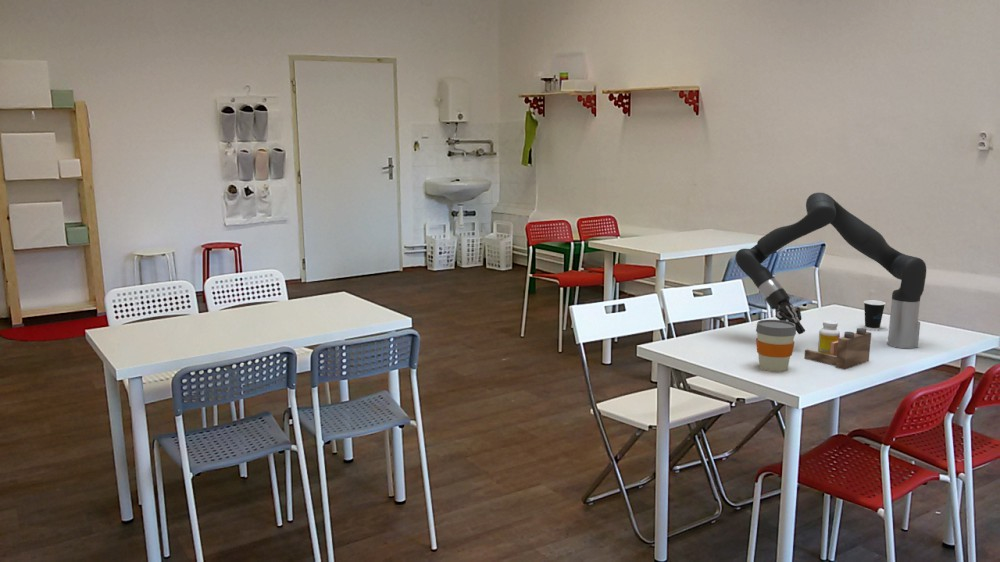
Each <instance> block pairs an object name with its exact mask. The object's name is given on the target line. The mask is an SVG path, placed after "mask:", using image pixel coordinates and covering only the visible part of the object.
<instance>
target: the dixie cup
mask: <svg viewBox="0 0 1000 562" xmlns="http://www.w3.org/2000/svg"><path fill="white" fill-rule="evenodd" d="M863 303H864V304H863V305H864V327H865V329H866V331H867V330H868V331H872V330H874V331H876V330H877V331H879V330H880V328H881V324H882V318H883V314H884V309H885V306H886V302H884V301H881V300H876V299H873V300H872V299H871V300H870V299H869V300H866V299H865V300H863ZM877 331H876V332H877Z"/></svg>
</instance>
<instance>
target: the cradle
mask: <svg viewBox="0 0 1000 562" xmlns="http://www.w3.org/2000/svg"><path fill="white" fill-rule="evenodd" d="M843 333H844V334H843V336H842V337H840V338H838V350H837V356H834V355H830V354H825V353H821V352H818V350H817V351H815V350H813V349H812V350H811V349H808V348H807V349H805V350H804V359H805V360H809V361H814V362H818V363H821V362H822V364H827V365H831V366H834V367H835V368H837V369H841V370H848V369H850V368H853V367H856V366H858V365H861V364H864V363H867V362H869V361H870V354H871V353H870V350H871V341H872V332H871V331H870V332H869V331H867V329H866V328H864V327H863V328H862V327H856V332H854V331H844V332H843Z"/></svg>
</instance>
